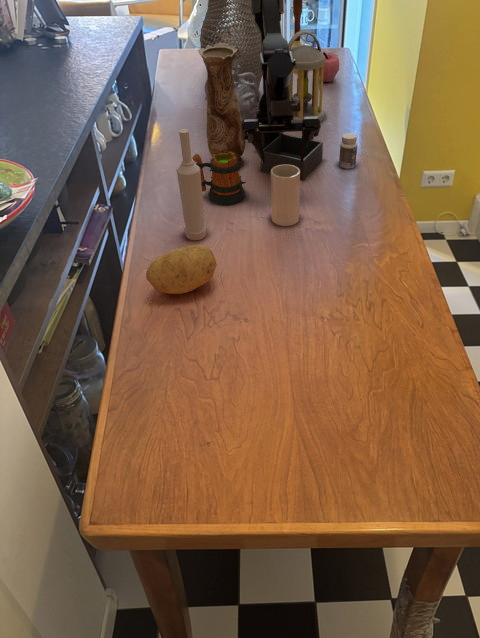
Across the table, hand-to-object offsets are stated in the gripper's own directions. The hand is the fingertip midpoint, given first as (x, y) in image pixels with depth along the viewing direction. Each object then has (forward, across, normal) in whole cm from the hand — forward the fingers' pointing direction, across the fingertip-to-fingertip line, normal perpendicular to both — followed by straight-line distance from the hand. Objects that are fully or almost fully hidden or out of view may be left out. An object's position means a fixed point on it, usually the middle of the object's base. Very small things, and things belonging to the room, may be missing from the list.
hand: (283, 163), depth 145 cm
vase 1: (-47, -8, +64) cm, 80 cm away
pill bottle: (-7, +20, +24) cm, 32 cm away
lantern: (-33, +12, +49) cm, 60 cm away
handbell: (-67, +16, +83) cm, 108 cm away
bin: (-8, +5, +25) cm, 27 cm away
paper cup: (+12, 0, +4) cm, 13 cm away
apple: (-55, +25, +72) cm, 94 cm away
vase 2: (-10, -13, +27) cm, 32 cm away
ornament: (-28, -9, +44) cm, 53 cm away
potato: (+31, -24, -14) cm, 42 cm away
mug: (+3, -16, +14) cm, 21 cm away
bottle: (+16, -22, +1) cm, 27 cm away
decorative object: (-69, -9, +86) cm, 110 cm away
